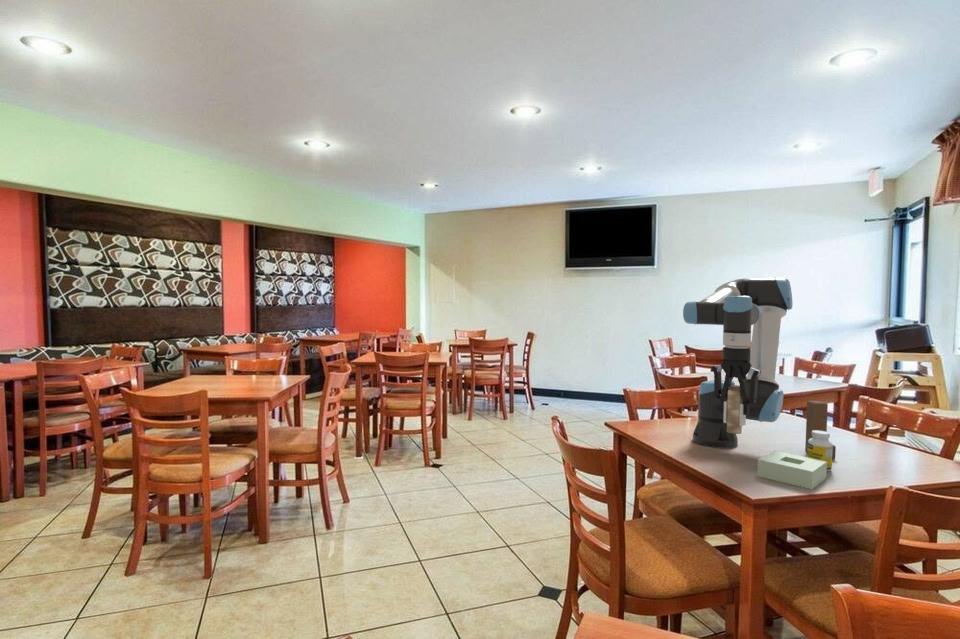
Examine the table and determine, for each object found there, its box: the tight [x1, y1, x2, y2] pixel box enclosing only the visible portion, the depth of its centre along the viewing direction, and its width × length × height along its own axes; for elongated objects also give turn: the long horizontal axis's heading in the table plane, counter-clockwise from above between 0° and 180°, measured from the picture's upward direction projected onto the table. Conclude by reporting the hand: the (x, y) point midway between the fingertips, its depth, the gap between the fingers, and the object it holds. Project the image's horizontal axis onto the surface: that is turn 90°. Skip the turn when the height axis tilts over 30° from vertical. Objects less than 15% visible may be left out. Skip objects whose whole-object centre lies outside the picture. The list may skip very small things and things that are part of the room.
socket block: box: [757, 450, 827, 490], centre depth 148 cm, size 14×14×5 cm
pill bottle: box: [806, 430, 834, 472], centre depth 156 cm, size 6×6×12 cm
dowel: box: [727, 384, 743, 435], centre depth 150 cm, size 4×4×14 cm
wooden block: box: [804, 400, 837, 460], centre depth 170 cm, size 9×4×18 cm, turn 0°
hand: (734, 423), depth 151 cm, fingers closed on dowel, 4 cm apart
